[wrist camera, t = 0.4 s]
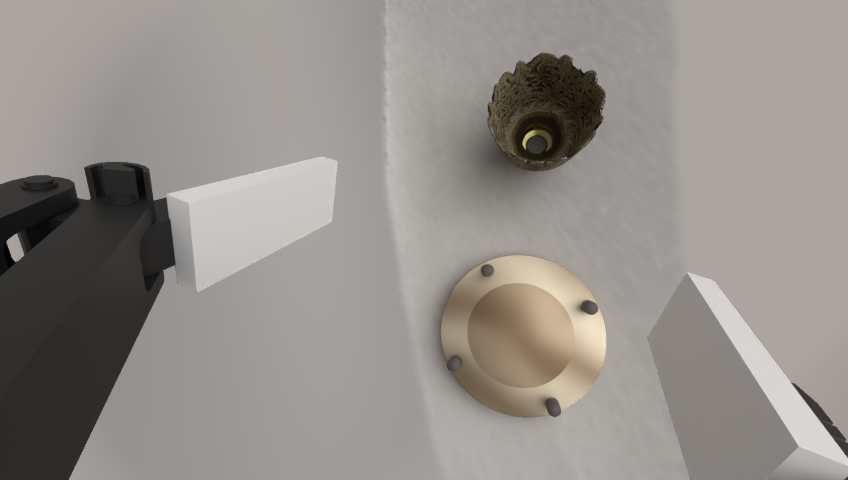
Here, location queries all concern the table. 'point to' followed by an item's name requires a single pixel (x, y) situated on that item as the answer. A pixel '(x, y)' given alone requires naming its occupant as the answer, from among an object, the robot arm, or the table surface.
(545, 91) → the ornate scalloped bell shade
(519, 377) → the seat plate
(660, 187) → the table surface
